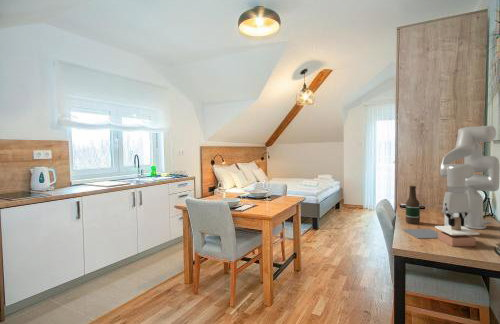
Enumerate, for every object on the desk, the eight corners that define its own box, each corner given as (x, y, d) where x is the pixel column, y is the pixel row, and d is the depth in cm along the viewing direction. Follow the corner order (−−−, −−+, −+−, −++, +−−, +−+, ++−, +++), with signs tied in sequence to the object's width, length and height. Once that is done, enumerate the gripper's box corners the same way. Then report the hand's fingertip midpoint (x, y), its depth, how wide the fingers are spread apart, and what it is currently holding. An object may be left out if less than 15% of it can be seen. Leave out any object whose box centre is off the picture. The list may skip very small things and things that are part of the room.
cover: (460, 226, 147) (460, 214, 147) (479, 234, 134) (479, 220, 134) (435, 227, 147) (434, 214, 147) (451, 235, 134) (451, 221, 134)
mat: (430, 229, 164) (430, 228, 164) (448, 238, 148) (448, 237, 148) (402, 230, 164) (402, 229, 164) (417, 238, 148) (417, 237, 148)
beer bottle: (419, 225, 173) (419, 187, 172) (405, 223, 177) (405, 186, 176) (419, 222, 180) (419, 185, 179) (406, 220, 184) (405, 184, 183)
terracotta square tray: (459, 239, 146) (459, 231, 146) (475, 246, 135) (475, 238, 135) (437, 239, 146) (437, 231, 146) (452, 246, 135) (452, 238, 135)
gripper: (467, 188, 143) (467, 223, 144) (434, 189, 144) (434, 224, 145) (479, 190, 136) (478, 227, 137) (444, 191, 136) (444, 228, 137)
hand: (456, 225), depth 141 cm, fingers closed on cover, 4 cm apart
